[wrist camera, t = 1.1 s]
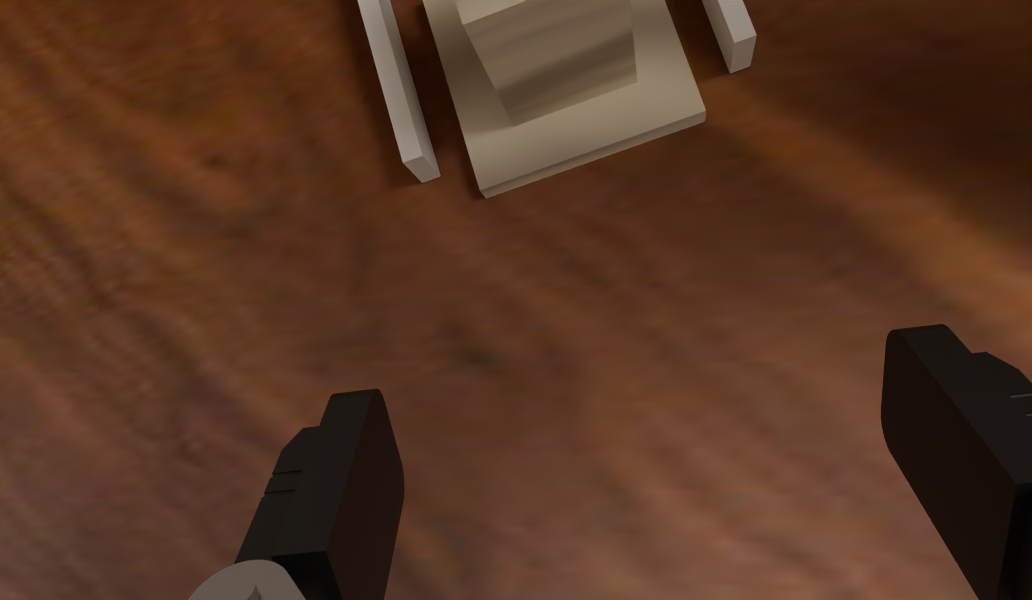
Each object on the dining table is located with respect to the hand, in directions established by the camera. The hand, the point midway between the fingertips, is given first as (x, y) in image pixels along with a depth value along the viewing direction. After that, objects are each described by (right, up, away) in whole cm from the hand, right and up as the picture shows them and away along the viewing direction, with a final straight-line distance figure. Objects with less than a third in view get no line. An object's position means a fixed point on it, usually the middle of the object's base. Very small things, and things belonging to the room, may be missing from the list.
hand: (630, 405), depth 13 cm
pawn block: (0, +11, +20) cm, 23 cm away
